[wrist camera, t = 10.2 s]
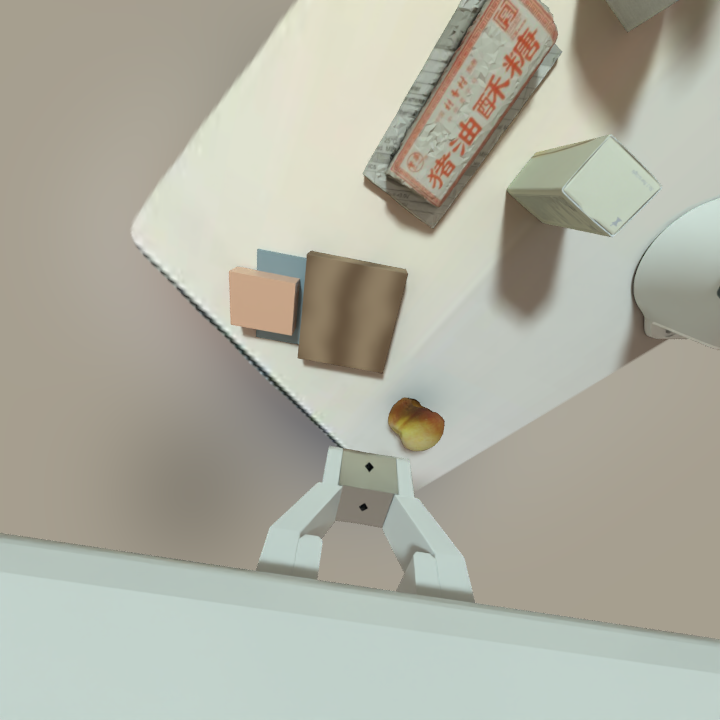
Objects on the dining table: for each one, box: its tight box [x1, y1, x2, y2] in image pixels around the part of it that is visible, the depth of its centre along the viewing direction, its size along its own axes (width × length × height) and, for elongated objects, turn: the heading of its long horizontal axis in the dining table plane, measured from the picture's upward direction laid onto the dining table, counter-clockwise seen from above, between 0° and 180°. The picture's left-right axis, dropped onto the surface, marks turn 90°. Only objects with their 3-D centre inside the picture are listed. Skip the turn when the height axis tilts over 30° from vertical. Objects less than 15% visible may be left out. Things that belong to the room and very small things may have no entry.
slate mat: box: [256, 249, 307, 344], centre depth 41 cm, size 8×12×1 cm, turn 170°
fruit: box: [388, 397, 445, 451], centre depth 45 cm, size 8×8×8 cm
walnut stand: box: [298, 251, 408, 373], centre depth 40 cm, size 12×14×2 cm
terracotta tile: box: [229, 267, 300, 336], centre depth 39 cm, size 8×7×2 cm
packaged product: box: [363, 0, 562, 228], centre depth 29 cm, size 18×5×10 cm
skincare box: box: [507, 135, 662, 237], centre depth 28 cm, size 6×4×12 cm
